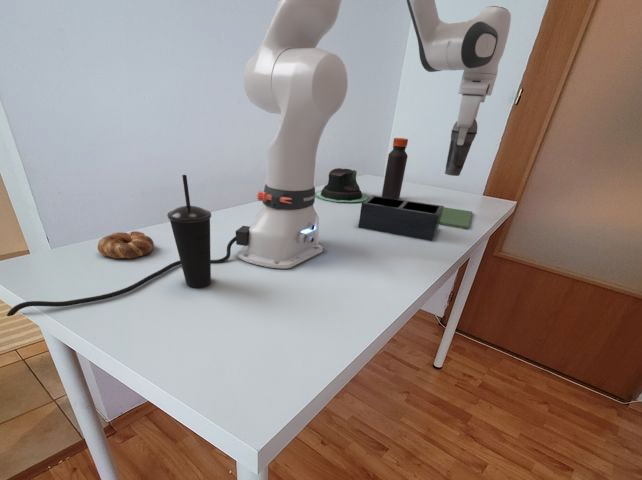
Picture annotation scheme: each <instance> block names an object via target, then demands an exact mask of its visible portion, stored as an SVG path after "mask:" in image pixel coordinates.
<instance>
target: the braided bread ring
mask: <svg viewBox="0 0 642 480" xmlns="http://www.w3.org/2000/svg"><path fill="white" fill-rule="evenodd" d="M154 247H155V242H154V240H153V238H151V236H148V235H145V233H144V232H141V231H134V230H133V231H130V232H129V233H128V232H114V233H112V234H109V235H106V236H104V237H102V238H101V239H100V240H99V241H98V243H97V251H98V253H99V254H100V255H102V256H104V257H107V258H108V257H110V258H113V259H115V260H119V259H129V260H131V259H136V258H138V257H140V256H145V255H147V254H149V253H151V251H152V250H153V249H154Z"/></svg>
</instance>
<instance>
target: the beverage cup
mask: <svg viewBox="0 0 642 480" xmlns="http://www.w3.org/2000/svg"><path fill="white" fill-rule="evenodd" d="M459 131H460V127H458V126H457V121H456V122H455V123H454V124H453V126H452V129H451V133H450V142H449V143H450V144H449V147H448V154H447V159H446V163H445V170H444V171H445V172H444V174H445V175H447V176H451V177H452V176H454V177H459V176H460V175H461V173H462V171H463V168H464V165H465V163H466V160H467V157H468V154H469V152H470V149H471V147H472V145H473V142H474V141H475V138H476V136H477V134H478V122H477V119H476V120H475V119H474V121H473V124H472V126H471V127H470V128H468V131H467V134H466V137H465V141H464V144H463V145H457V141H458V137H459Z"/></svg>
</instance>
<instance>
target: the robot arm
mask: <svg viewBox="0 0 642 480" xmlns="http://www.w3.org/2000/svg"><path fill="white" fill-rule="evenodd" d="M341 3H342V0H279V1H278V4H277V6H276V10H275V11H274V15H273V17H272V19H271V22H270V24H269V27H268V28H267V31H266V33H265V35H264V38H263V40H262V42H261V44H260V45H259V47H258V49H257V51H256V52H255V53H254V54H253V55H252V56H251V58H250V59H249V60H248V61H247V63H246V65H245V68H244V71H243V88H244V92H245V93H246V96H247V98H248V99H249V101H250V102H251V103H252V105H254V106H256V107H257V108H259V109H261V110H262V111H265V112H267V113H270V114H276V115H280V120H279V125H278V129H277V132H276V134H275V136H274V138H273V139H272V140H271V141H269V143H268V144H267V147H266V150H265V164H266V166H265V169H266V170H265V172H266V175H265V176H266V177H265V178H266V184H265V185H264V189H263V191H262V190H259V191H258V192H257V193H256V199H257V201H258V202H262V205H261V207H260V209H259V211H258V212H257V214H256V216H255V218H254V219H253V222H252V223H251V224H250V225H249V226H248V225H242V226H240V227H239V228H237V229H236V230H235V236H234V237H232V238H231V240H230V241H229V242H228V244H227V245H226V254H225V256H224V257H222V258H219V259H211V264H221V263H224V262H226V261H228V260H229V259H230V258H231V253H232V252H231V249H232V246H233V244H234V243H235V244H236V245H237V246H243V247H242V248H241V249H240V250H238V252H237V258H238V259H240V260H241V261H244V262H246V263H249V264H252V265H256V266H261V267H265V268H271V269H272V268H273V269H281V270H282V269H291V268H294V267H295V266H297V265H299V264H301V263H303V262H305V261H307V260H309V259H311V258H313V257H315V256H318V255H319V254H321V253H323V252H324V247H323V245H321V244H320V243H319V237H320V236H319V227H320V226H319V222H320V221H319V219H320V218H319V215H318V213H317V211H316V209H315V207H314V204H315V201H316V200H315V199H316V187H315V186H314V184H315V171H316V160H317V152H318V148H319V144H320V141H321V137H322V135H323V132H324V130H325V128H326V126H327V124H328V122H329V121H330V119H331V118H332V117H333V116H334V115H335V114H336V113H337V112H338V111H339V110H340V109H341V108H342V106H343V103H344V102H345V100H346V96H347V92H348V84H349V83H348V82H349V79H348V73H347V68H346V66H345V64H344V62H343V60H342V59H341V57H340V56H339V55H337V54H335V53H333V52H330V51H328V50H325V49H321V48H318V47H317V46H318V45H319V43H320V41H321V40H322V39H323V38H324V37H325V36H326V35H327V34H328V33H329V32H330V31H331V29H332V28H333V27H334V25H335V23H336V22H337V19H338V16H339V13H340V12H339V11H340V7H341ZM406 4H407V7H408V12H409V15H410V19H411V21H412V25H413V29H414V32H415V35H416V39H417V44H418V51H419V52H418V55H419V60H420V64H421V66H422V68H423V69H424V70H425V71H427V72H428V73H435V72H442V71H463V72H462V76H461V80H460V84H459V88H458V92H457V93H458V94H459V95H461V97H460V103H459V109H458V114H457V120H456V122H457V126H458V127H460V131H459V137H458V141H457V145H463V144H464V141H465V137H466V134H467V131H468V128H470V127H471V126H472V124H473V121H474V119H475V120H476V121H477V116H478V113H479V109H480V105H481V103H485V101H486V97H487V96H492V93H493V90H494V87H495V83H496V80H497V76H498V71H499V70H498V69H499V64H500V61H501V59H502V57H503V55H504V52H505V49H506V45H507V41H508V37H509V34H510V27H511V21H512V15H511V12H510V11H509V9H507V8H505V7H503V6H498V5H489V6H485V7H484V8H482V9H481V11H480V13H479V14H478V15H477V16H475V17H473V18H471V19H469V20H467V21H466V20H465V21H462V22H461V21H460V22H452V23H448V22H445V21H443V20H441V19H440V17H439V13H438V8H437V3H436V0H406ZM180 265H181V261H180V260H176V261H174V262H172V263H170V264H168V265H166V266H164V267H163V268H161V269H159V270H158V271H155V272H154V273H151V274H150V275H148V276H146V277H144V278H142V279H141V280H139V281H137V282H135V283H133V284H131V285H129V286H126V287H123V288H121V289H118V290H116V291H113V292H108V293H105V294H100V295H95V296H90V297H84V298H77V299H70V300H65V301H47V300H46V301H45V300H30V301H24V302H20V303H18V304H16V305H15V306H13V307H12V308H10V309H9V311H8V312H7V314H6V317H12V316H14V315H15V314H16V313H17V312H19V311H21V310H22V309H25V308H29V307H56V308H57V307H59V308H60V307H69V306H75V305H76V306H77V305H81V304H87V303H88V304H89V303H93V302H98V301H103V300H104V301H105V300H108V299H111V298H114V297H118V296H121V295H124V294H127V293H129V292H131V291H133V290H135V289H137V288H139V287H141V286H142V285H144V284H147V282H149V281H151V280H153V279H155V278H157V277H158V276H161V275H163V274H164V273H166V272H167V271H169V270H171V269H173V268H175V267H177V266H180Z"/></svg>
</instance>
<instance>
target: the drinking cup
mask: <svg viewBox="0 0 642 480" xmlns="http://www.w3.org/2000/svg"><path fill="white" fill-rule="evenodd" d="M181 177H182V184H183V192H184V198H185V205H181V206H179V207H175V208H174V209H173V210H170V211H169V212H167V214H166V216H167V219H168V220H169V222H170V226H171V230H172V234H173V238H174V241H175V245H176V246H175V247H176V250H177V254H178V257H179V261H181V264H180V265H181V268H182V273H183V277H184V280H185V284H186V286H187V287H189V288H192V289H203V288H207V287H209V286H210V285H211V283H212V271H211V270H212V267H211V266H212V265H211V264H212V263H211V260H212V259H211V217H212V212H211V211H210V210H207V209H205V208H203V207H200V206H197V205H191V200H190V193H189V184H188V176H187V175H186V174H182V175H181Z"/></svg>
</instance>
